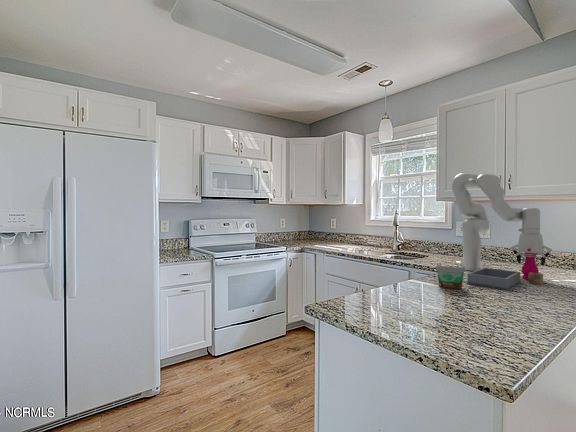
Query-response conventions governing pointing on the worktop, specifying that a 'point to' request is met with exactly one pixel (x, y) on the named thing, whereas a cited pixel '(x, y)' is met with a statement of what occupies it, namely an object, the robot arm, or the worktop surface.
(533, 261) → the pepper mill
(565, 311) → the worktop surface
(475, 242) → the robot arm
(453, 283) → the food container
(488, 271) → the tray
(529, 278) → the wooden block
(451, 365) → the worktop surface
